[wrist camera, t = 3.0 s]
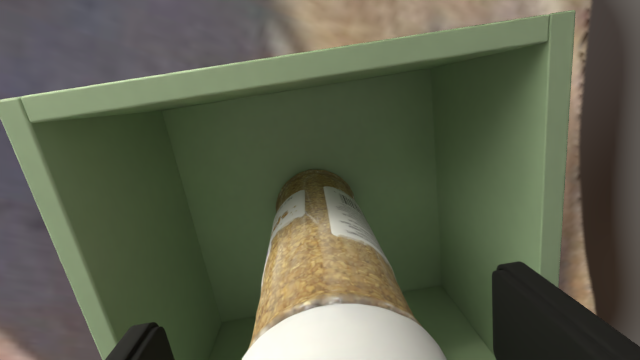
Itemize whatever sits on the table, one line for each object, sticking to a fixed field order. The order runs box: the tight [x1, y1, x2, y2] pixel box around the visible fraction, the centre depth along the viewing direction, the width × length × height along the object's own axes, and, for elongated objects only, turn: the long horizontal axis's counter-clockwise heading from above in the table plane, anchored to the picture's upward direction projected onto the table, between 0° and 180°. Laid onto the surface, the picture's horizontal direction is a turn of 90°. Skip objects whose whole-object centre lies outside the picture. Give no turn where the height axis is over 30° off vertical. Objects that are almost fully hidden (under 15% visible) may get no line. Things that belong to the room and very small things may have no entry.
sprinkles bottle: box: [242, 169, 447, 360], centre depth 11 cm, size 5×5×13 cm
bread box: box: [0, 10, 575, 360], centre depth 14 cm, size 14×15×9 cm
